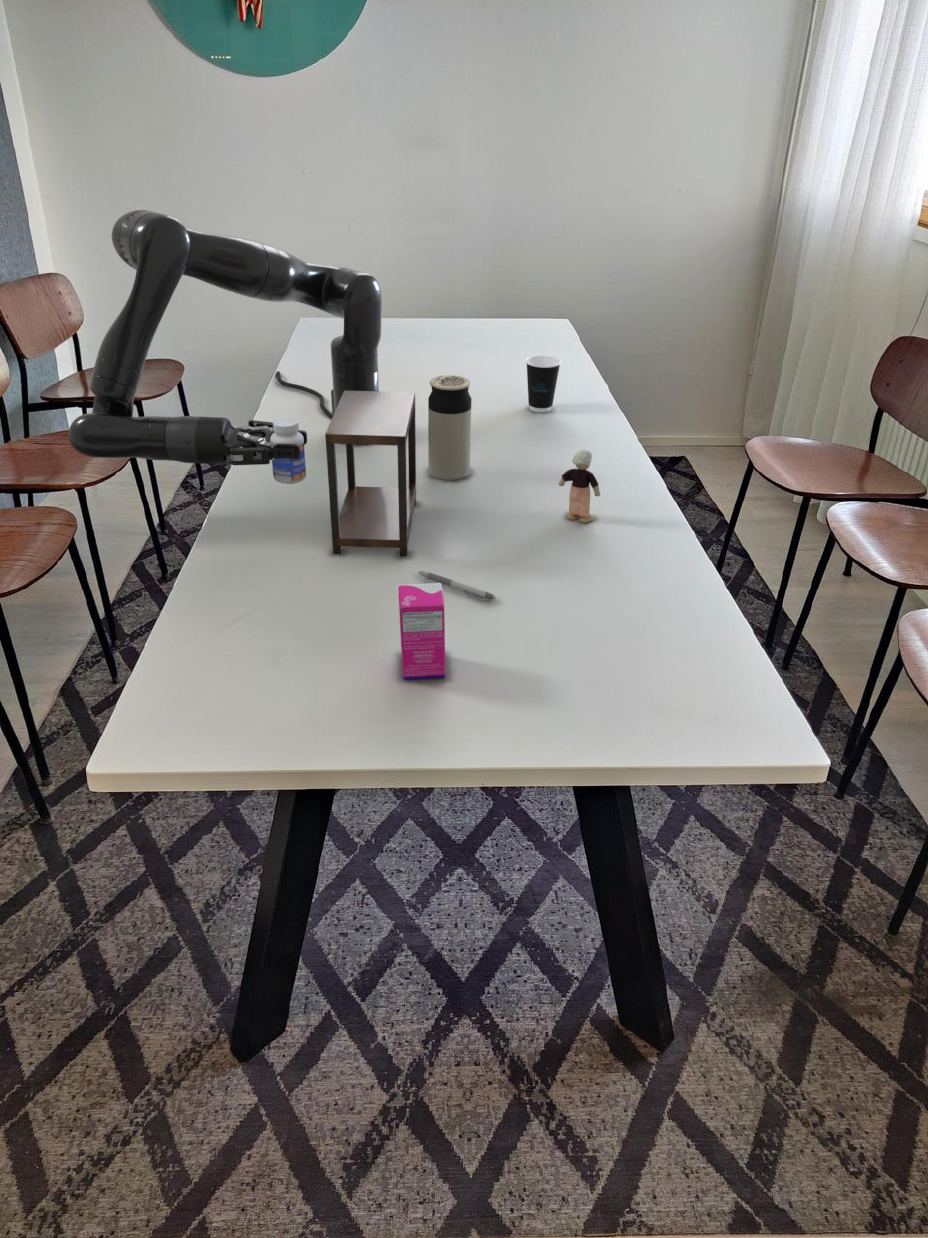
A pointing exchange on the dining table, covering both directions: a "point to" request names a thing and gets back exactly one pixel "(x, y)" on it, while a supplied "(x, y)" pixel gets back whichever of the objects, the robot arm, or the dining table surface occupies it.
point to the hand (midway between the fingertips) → (302, 444)
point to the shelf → (373, 509)
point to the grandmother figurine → (580, 486)
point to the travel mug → (449, 427)
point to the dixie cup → (542, 381)
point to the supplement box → (422, 631)
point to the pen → (459, 586)
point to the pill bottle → (284, 467)
